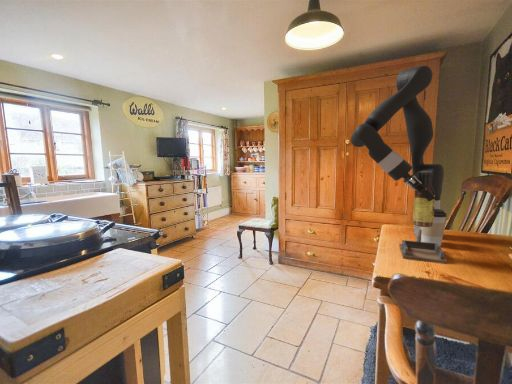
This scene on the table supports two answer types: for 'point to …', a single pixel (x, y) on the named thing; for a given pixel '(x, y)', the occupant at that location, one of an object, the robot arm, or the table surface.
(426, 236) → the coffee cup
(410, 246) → the keeper cradle
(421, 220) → the sauce bottle
